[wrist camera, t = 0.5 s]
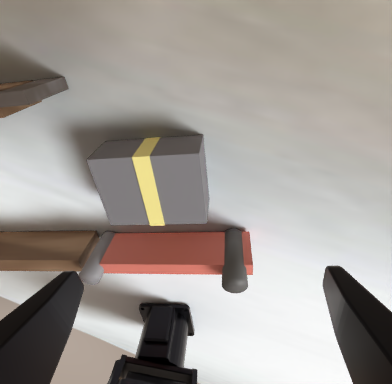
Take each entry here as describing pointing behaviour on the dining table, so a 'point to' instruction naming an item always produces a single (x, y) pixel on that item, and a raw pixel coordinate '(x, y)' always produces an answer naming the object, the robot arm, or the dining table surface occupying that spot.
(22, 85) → the tan frame
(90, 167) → the grey taped parcel
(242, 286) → the gate
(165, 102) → the dining table surface
